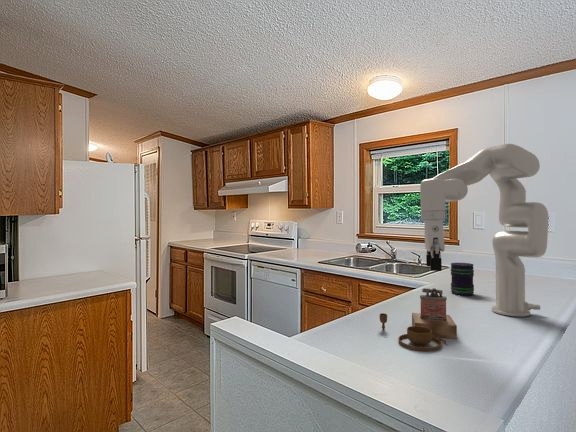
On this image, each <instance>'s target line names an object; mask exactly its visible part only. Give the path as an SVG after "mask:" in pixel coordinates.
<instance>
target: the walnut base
mask: <svg viewBox="0 0 576 432" xmlns="http://www.w3.org/2000/svg"><path fill="white" fill-rule="evenodd" d="M420 315H421V312H411V325H412V326H421V327H426V328H429V329H431V330H432V337H435V338H441V339H454V340H456V339H458V333H457V332H458V330H457V329H458V328H457V327H458V326H457V324H456V323H455V321H454V320H453V318H452V317H451V315H450V314H446V317H447V321H433V320H424V319H421V318H420Z"/></svg>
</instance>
